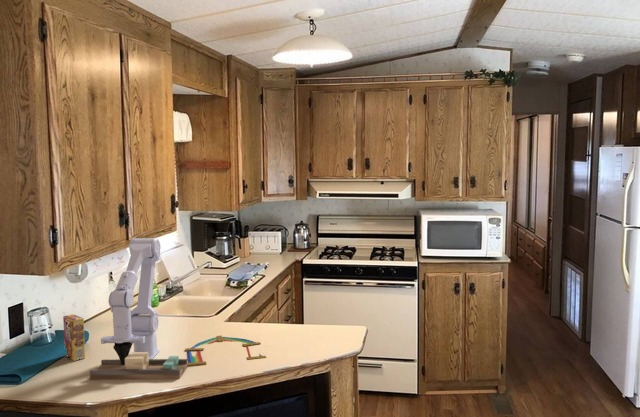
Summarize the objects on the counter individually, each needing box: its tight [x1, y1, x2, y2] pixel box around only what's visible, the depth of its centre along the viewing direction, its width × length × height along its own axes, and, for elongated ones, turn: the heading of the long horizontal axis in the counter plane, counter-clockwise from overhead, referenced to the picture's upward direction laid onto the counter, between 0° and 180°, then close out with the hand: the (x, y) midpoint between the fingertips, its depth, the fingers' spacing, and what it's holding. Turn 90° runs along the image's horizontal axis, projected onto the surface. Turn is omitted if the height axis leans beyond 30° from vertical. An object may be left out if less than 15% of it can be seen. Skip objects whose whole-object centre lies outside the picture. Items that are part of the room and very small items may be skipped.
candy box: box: [62, 313, 86, 362], centre depth 200 cm, size 9×4×15 cm, turn 47°
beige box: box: [125, 351, 149, 369], centre depth 184 cm, size 6×6×4 cm
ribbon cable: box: [184, 335, 267, 368], centre depth 207 cm, size 29×1×30 cm
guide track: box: [89, 355, 188, 380], centre depth 184 cm, size 10×30×4 cm, turn 89°
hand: (124, 363), depth 184 cm, fingers closed
